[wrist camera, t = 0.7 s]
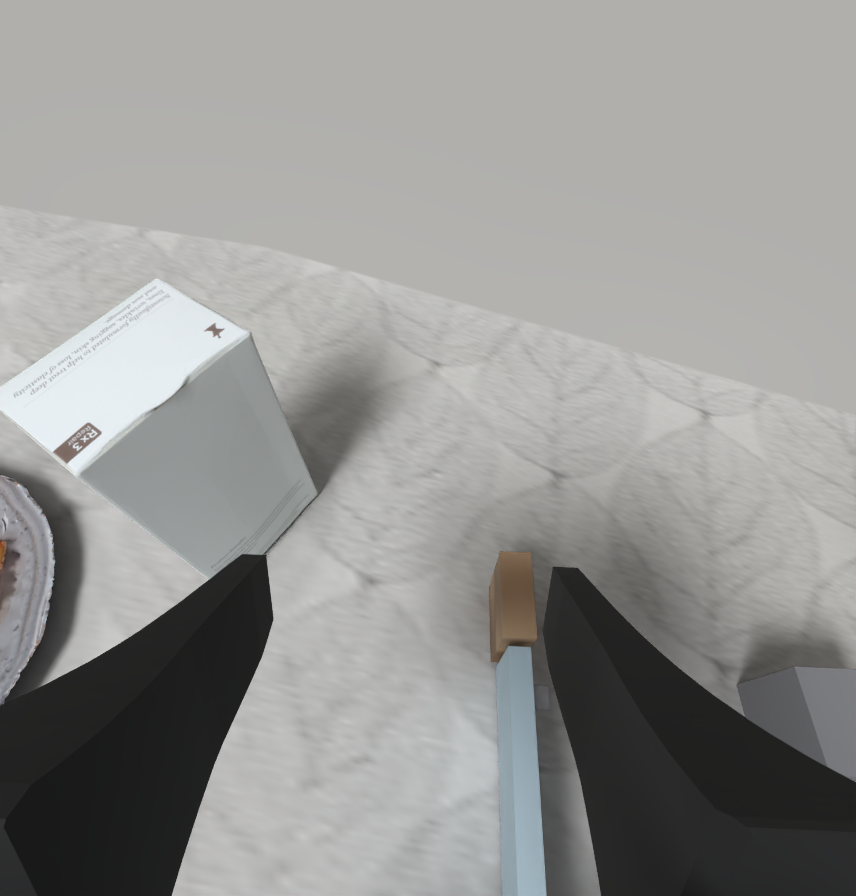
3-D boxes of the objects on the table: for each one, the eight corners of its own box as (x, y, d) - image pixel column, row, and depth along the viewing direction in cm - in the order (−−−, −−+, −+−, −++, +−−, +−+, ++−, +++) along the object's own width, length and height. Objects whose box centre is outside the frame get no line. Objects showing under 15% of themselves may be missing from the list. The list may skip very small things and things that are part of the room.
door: (556, 1005, 20) (590, 1065, 15) (504, 1002, 20) (524, 1060, 16) (534, 669, 26) (553, 648, 22) (496, 667, 26) (508, 646, 22)
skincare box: (258, 452, 34) (160, 266, 22) (324, 498, 32) (258, 321, 20) (157, 547, 30) (-30, 386, 18) (225, 605, 29) (67, 469, 16)
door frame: (554, 1101, 18) (595, 1207, 14) (485, 1096, 18) (504, 1200, 14) (524, 589, 29) (541, 553, 24) (480, 587, 29) (489, 550, 24)
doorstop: (846, 781, 24) (935, 781, 20) (760, 776, 24) (830, 775, 20) (814, 688, 26) (887, 670, 22) (736, 684, 26) (794, 666, 22)
